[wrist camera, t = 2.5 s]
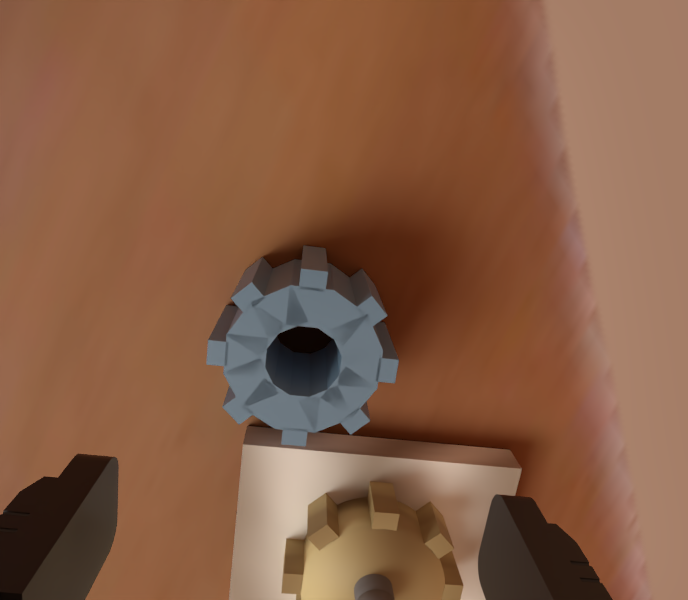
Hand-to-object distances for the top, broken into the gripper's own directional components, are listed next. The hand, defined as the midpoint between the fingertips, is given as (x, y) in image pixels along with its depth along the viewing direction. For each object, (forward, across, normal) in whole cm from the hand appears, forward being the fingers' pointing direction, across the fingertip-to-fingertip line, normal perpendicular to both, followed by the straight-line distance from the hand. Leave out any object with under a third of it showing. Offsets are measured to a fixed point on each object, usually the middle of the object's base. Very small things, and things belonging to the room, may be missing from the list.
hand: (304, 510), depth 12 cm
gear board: (+12, -4, +18) cm, 22 cm away
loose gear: (+12, 0, 0) cm, 12 cm away
